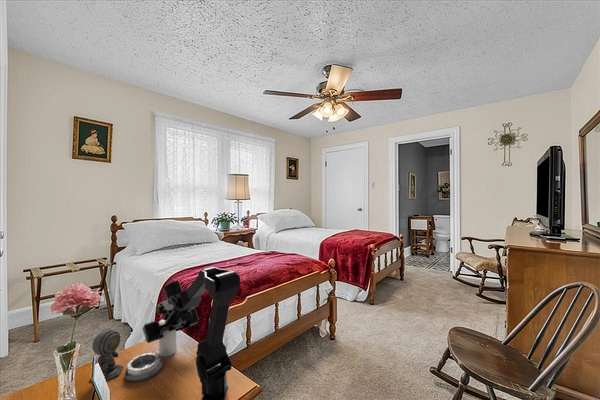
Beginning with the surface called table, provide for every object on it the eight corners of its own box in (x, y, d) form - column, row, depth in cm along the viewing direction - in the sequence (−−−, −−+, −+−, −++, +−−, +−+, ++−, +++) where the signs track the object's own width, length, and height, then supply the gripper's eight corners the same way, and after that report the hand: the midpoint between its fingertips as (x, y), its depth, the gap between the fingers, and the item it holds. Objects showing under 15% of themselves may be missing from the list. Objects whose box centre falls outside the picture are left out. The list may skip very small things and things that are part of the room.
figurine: (107, 385, 87) (106, 339, 86) (82, 380, 89) (80, 336, 88) (129, 367, 95) (128, 326, 95) (105, 364, 97) (104, 323, 97)
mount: (167, 360, 100) (166, 350, 99) (153, 381, 89) (153, 370, 88) (135, 361, 99) (135, 352, 99) (118, 383, 88) (117, 372, 88)
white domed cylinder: (179, 346, 108) (178, 317, 107) (173, 356, 102) (172, 324, 101) (163, 347, 108) (162, 317, 107) (156, 357, 101) (155, 325, 101)
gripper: (194, 287, 108) (182, 307, 116) (143, 302, 94) (133, 323, 102) (205, 312, 103) (191, 331, 111) (153, 332, 89) (142, 352, 97)
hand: (166, 333), depth 105 cm, fingers closed on white domed cylinder, 6 cm apart
